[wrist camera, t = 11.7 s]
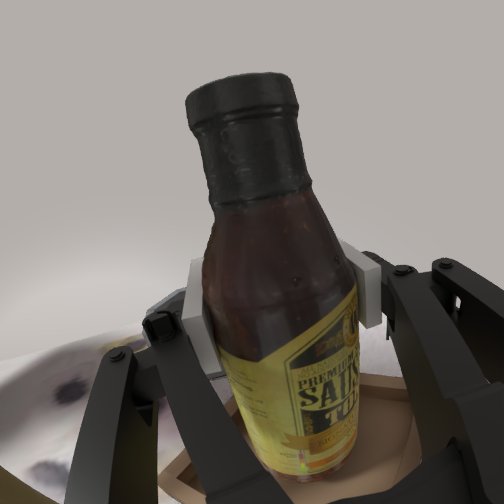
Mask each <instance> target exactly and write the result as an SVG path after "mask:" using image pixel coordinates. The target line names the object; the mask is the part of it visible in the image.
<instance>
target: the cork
mask: <svg viewBox="0 0 504 504" xmlns="http://www.w3.org/2000/svg"><path fill="white" fill-rule="evenodd" d="M0 504H59V503H57V502H55V501H53V500H52V499H50V498H48V497H46V496H45V495H43V494H41V493H40V492H38V491H36V490H35V489H33V488H32V487H30V486H28V485H27V484H25V483H24V482H22V481H21V480H19V479H18V478H17V477H15V476H14V475H12V474H11V473H9V472H8V471H7V470H5V469H4V468H3V467H1V466H0Z"/></svg>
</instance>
